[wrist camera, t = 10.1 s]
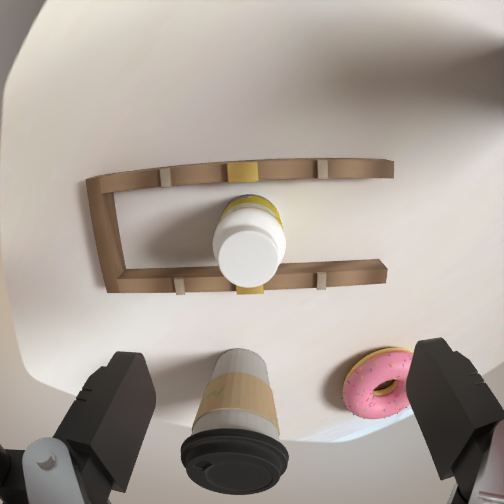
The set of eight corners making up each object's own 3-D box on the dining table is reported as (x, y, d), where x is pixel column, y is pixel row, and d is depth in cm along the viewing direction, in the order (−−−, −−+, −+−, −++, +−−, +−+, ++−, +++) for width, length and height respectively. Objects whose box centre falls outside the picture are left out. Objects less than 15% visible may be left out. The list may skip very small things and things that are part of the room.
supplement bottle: (267, 257, 31) (269, 308, 22) (214, 237, 31) (194, 281, 21) (289, 206, 29) (303, 238, 20) (234, 184, 29) (221, 206, 20)
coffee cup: (201, 331, 34) (172, 440, 20) (287, 339, 34) (299, 451, 20) (201, 391, 38) (180, 491, 24) (276, 398, 38) (280, 500, 24)
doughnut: (407, 398, 38) (417, 418, 34) (334, 408, 39) (339, 431, 35) (427, 336, 35) (441, 356, 31) (344, 345, 35) (352, 368, 31)
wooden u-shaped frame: (383, 158, 28) (396, 161, 25) (377, 273, 32) (387, 286, 29) (97, 175, 29) (82, 179, 26) (116, 282, 33) (104, 295, 30)
